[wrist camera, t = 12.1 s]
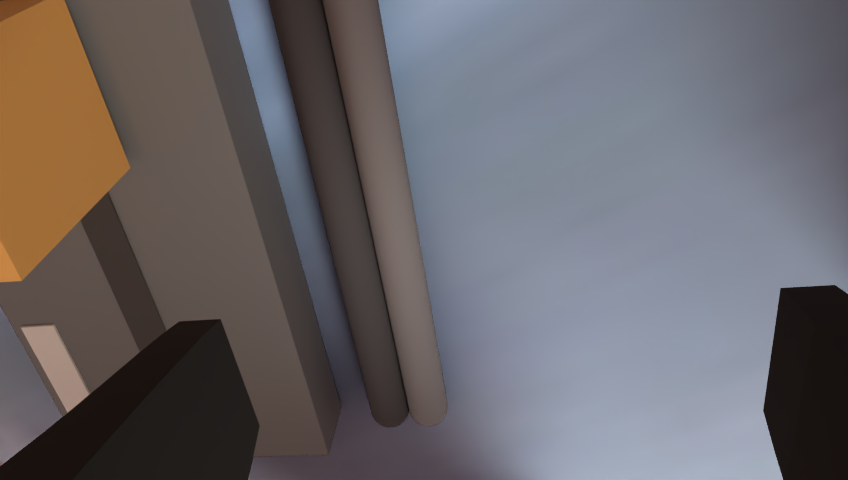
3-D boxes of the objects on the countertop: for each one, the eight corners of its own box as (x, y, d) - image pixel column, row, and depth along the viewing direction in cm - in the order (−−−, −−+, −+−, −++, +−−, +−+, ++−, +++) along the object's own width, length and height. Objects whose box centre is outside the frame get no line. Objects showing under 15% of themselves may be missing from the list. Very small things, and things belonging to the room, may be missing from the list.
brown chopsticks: (450, 405, 23) (448, 434, 22) (377, 407, 24) (371, 436, 23) (353, -173, 15) (342, -169, 14) (241, -155, 15) (222, -150, 14)
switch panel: (341, 406, 24) (327, 456, 22) (115, 414, 25) (86, 462, 23) (189, -141, 15) (148, -130, 14) (-139, -88, 17) (-214, -72, 15)
